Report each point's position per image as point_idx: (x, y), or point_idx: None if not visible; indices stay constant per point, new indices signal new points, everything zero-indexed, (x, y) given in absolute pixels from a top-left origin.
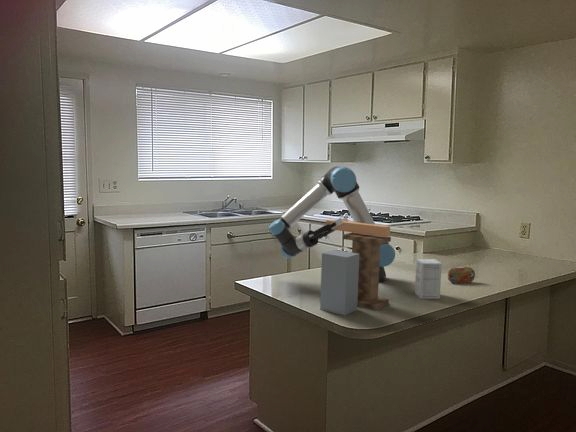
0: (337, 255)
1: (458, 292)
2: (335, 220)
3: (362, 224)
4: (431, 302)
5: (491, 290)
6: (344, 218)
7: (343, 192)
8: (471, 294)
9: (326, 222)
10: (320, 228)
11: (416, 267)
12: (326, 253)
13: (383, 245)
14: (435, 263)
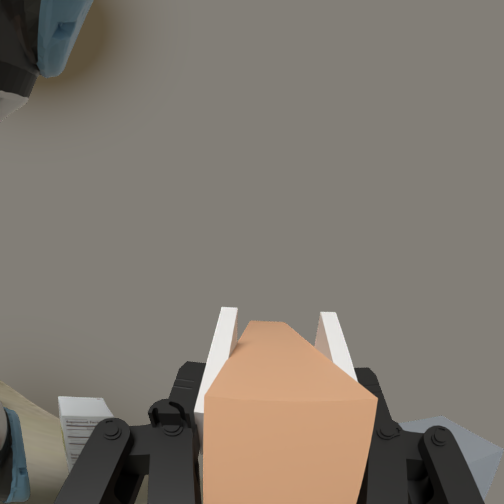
0: (459, 428)
1: (51, 440)
2: (266, 369)
3: (293, 330)
4: (143, 480)
5: (33, 410)
6: (234, 323)
7: (24, 52)
8: (61, 432)
9: (368, 432)
10: (471, 485)
11: (69, 436)
12: (488, 445)
13: (18, 421)
14: (105, 403)
